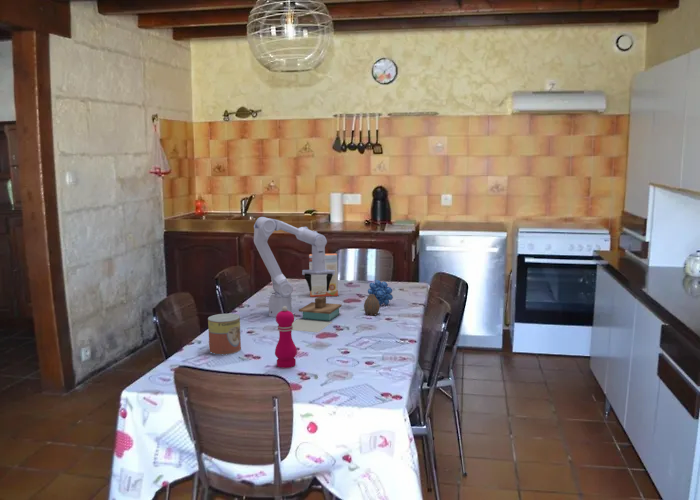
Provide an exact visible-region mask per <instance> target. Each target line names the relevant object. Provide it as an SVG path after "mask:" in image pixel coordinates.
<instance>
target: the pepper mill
mask: <svg viewBox="0 0 700 500" xmlns="http://www.w3.org/2000/svg"><path fill="white" fill-rule="evenodd" d="M282 310H283V311H280V312H279V313H278V314H277V316H276V317H275V322H276V324H278V325H277V331H278V333H279V334H278V335H279V338H278V341H277V343H276V346H275V349H274V355H275V357H276V358H277V359H276V366H277V367H278V368H280V369H281V368H282V369H289V368H293V367H295V366H296V363H297V362H296V358H295V357H296V356H297V354H298V351H297V346H296V344H295V342H294V340H293V336H292V335H293V334H292V331H294V330H293V325H292V323H293V322H294V321H295V316H294V315H295V314H293V313H294V312H290V311H287V307H286V306H284V307H282Z"/></svg>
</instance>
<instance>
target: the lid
mask: <svg viewBox="0 0 700 500" xmlns="http://www.w3.org/2000/svg"><path fill="white" fill-rule="evenodd" d="M342 306H343V305H342V304H341V303H339V304H338V303H330V302H329V303H327V296H319V297H316V298H314V301H312V302H310V303H308V304H306V305H305V306H303V307H301V308H299V309H298V312H299V313H300V312H301V313H303V312H312V313H324V314H331V313H332V312H334V311H335V310H337V309H338V308H339V309H340V308H341V307H342Z"/></svg>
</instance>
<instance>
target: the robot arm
mask: <svg viewBox="0 0 700 500" xmlns="http://www.w3.org/2000/svg"><path fill="white" fill-rule="evenodd" d="M253 231H254V232H253V243H254V246H255V247H256V249H257V251H258V253H259V256H260V257H261V259H262V261H263V264H264V265H265V267H266V269H267V272H268V273H269V275H270V278H271V282H272V289H273V291H274V294H272V295H270V297H269V299H268V317H275V318H276V316H277V314H278V313H279V312H280V311H283V310H282V307H284V306H286V307H287V311H290V312H292V311H293V309H292V308H293V307H292V293H293V291H294V287H293V284H292V283H291V282H289V281H288V279H287V277H286V276H285V275H284V274H283V272H282V269H281V268H280V265H279V263H278V262H277V260H276V257H275V256H274V253H273V251H272V250H271V247H270V246H269V243H268V240H269V239H270V236H272V234H273V233H274V232H275V231H277V232H278V231H284V232H285V233H289V234H291V235H295V237H296V240H299V241H301V242H305V243H306V244H309V245H311V254H312V270H309V269H302V270H301V271H302V273H301V275H303V276H304V279H305V280H306V283H307V286H308V289H309V292H310V291H311V290H312V286H311V275H327V276H326V279H327V291H329V285H330V281H331V279H332V276H333V275H335V270H326V269H325V254H326V248H325V247H326V245H327V243H328V240H327V238H326V236H325V235H324V234H321V233H318V231H316V230H311V229H309V227H308V226H301V227H300V226H299V227H295V226H293V225H291V224H289V223H286V222H285V221H282V220H279V219H275V218H270V217H269V218H268V217H266V216H260V217H258V218H257V219H256V221H255V223H254V225H253ZM292 313H293V315H295V314H296V312H292Z"/></svg>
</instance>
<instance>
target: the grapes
mask: <svg viewBox="0 0 700 500" xmlns="http://www.w3.org/2000/svg"><path fill="white" fill-rule="evenodd" d="M367 293H368V294H374V295H375V297H376V298H377V300H378V301H379V304H380V306H382V305H383V304H384V305H385V306H387V305H389V303H390V301H392V300H393V299H394V297H393V294H392V293H393V288H392V287H390V286H388V283H387V282H386V281H380V280H379V279H376V280H374V282H370V283H369V288H368V290H367Z"/></svg>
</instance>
